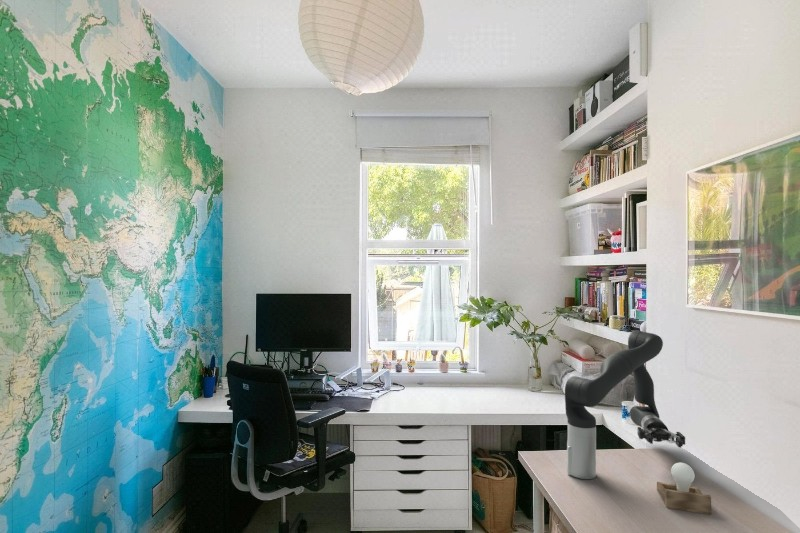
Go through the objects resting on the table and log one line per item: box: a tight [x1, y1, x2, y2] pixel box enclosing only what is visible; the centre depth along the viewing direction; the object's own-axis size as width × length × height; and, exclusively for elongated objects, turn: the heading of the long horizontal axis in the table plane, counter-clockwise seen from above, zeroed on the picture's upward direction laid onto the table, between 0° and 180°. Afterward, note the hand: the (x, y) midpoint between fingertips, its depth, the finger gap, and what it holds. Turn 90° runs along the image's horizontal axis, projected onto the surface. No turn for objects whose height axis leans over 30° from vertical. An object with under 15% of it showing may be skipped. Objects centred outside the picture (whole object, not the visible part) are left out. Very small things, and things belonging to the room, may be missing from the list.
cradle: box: [656, 481, 712, 515], centre depth 133 cm, size 11×11×5 cm
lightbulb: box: [670, 462, 696, 492], centre depth 133 cm, size 6×6×11 cm
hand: (665, 442), depth 148 cm, fingers open, 8 cm apart
